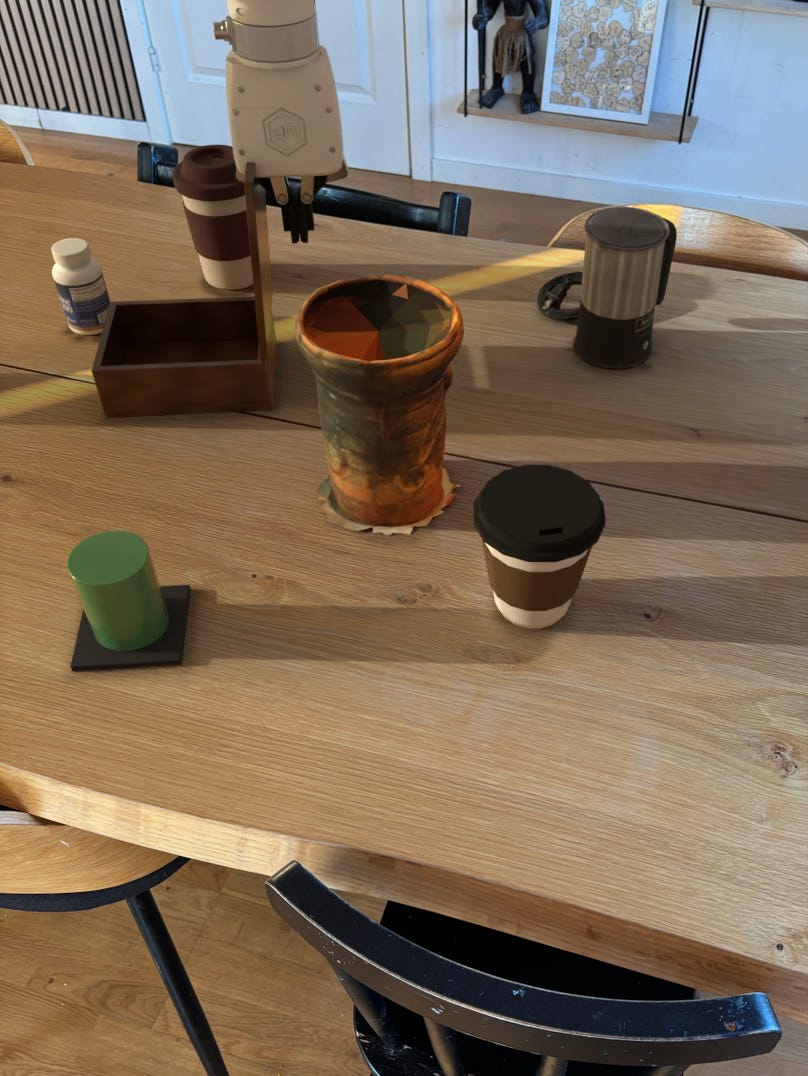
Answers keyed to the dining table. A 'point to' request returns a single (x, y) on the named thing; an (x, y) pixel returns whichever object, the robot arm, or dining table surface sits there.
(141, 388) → the chest
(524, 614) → the coffee cup
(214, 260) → the coffee cup
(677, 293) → the dining table surface
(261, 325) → the lid
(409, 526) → the vessel
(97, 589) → the green cylinder
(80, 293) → the pill bottle
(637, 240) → the milk frother
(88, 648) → the mat
